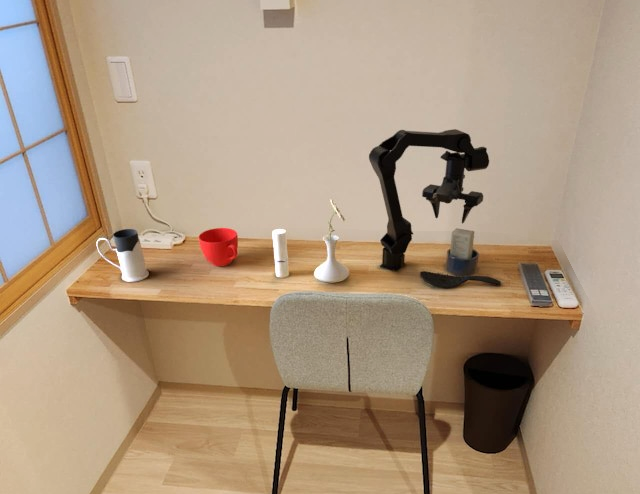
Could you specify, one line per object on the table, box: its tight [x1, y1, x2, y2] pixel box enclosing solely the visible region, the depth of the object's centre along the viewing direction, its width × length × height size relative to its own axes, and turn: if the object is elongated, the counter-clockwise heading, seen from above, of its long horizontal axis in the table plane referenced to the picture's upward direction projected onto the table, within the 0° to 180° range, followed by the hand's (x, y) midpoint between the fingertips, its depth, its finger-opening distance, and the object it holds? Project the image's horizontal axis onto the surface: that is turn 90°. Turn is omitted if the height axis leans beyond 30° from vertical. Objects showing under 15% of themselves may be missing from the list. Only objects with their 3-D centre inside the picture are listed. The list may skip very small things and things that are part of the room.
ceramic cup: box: [198, 227, 239, 267], centre depth 186 cm, size 13×17×10 cm
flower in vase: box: [313, 198, 350, 284], centre depth 171 cm, size 13×11×25 cm
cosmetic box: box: [449, 227, 475, 259], centre depth 177 cm, size 6×4×12 cm
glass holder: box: [95, 228, 150, 283], centre depth 179 cm, size 9×14×15 cm, turn 94°
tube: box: [271, 228, 290, 278], centre depth 176 cm, size 4×4×15 cm
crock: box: [444, 248, 480, 276], centre depth 179 cm, size 10×10×6 cm
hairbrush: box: [419, 269, 502, 290], centre depth 171 cm, size 8×4×25 cm
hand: (449, 220), depth 181 cm, fingers open, 9 cm apart
